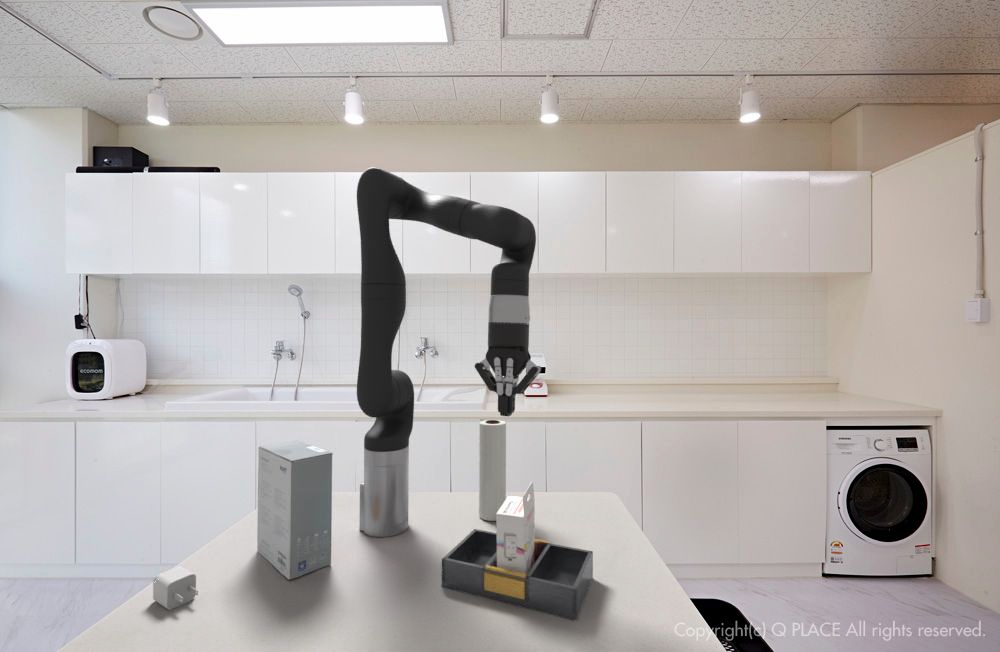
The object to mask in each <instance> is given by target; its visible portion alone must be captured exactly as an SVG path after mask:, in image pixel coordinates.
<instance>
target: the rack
mask: <svg viewBox="0 0 1000 652" xmlns="http://www.w3.org/2000/svg"><path fill="white" fill-rule="evenodd" d="M593 556H594V551H592V550H587V549H582V548H578V547H577V548H576V547H570V546H566V545H560V544H556V543H550V542H549V540H543V539H537V538H534V565H533V567H532V568H531V570H530V571H529V573H528V574H525V573H521V572H516V571H512V570H507V569H503V568H498V567H497V532H492V531H487V530H483V529H476V528H474V529H473V530H471V532H470V533H468V534H467V535H466V536H465V538H463V539H462V540H460V542H459V543H458V544H457V545H456V546H454V547H453V548H452V549H451V550H450V551H449V552H448V553H447V554H446V555H444V556H443V557H442V559H441V588H446V589H449V590H454V591H458V592H460V593H465V594H469V595H473V596H477V597H479V598H485V599H489V600H492V601H497V602H500V603H505V604H508V605H512V606H516V607H517V606H518V607H520V608H524V609H528V610H532V611H536V612H540V613H545V614H548V615H552V616H556V617H559V616H560V617H561V618H563V619H564V618H565V619H568V620H573V621H575V620H576V621H577V620H578V618H579V615H580V613H581V610H582V607H583V605H584V603H585V599H586V597H587V594H588V592H589V588H590V586H591V585H592V582H593V578H594V570H593V569H594V562H593V561H594V559H593V558H594V557H593ZM579 612H580V613H579Z"/></svg>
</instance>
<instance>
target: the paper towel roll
mask: <svg viewBox="0 0 1000 652" xmlns="http://www.w3.org/2000/svg"><path fill="white" fill-rule="evenodd" d="M478 424H479V425H478V426H479V427H478V431H479V432H478V434H479V435H478V441H479V443H478V447H479V448H478V454H479V455H478V459H479V460H478V516H479V518H480V519H481V520H484V521H489V522H496V513H497V512H498V510H499V509H500V507H501V506H502V505H503V503H504V502H505V500H506V499H507V497H506V495H507V493H506V492H507V422H506V421H504V420H499V419H489V418H488V419H486V418H485V419H483V418H480V420H479V423H478Z"/></svg>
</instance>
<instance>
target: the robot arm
mask: <svg viewBox="0 0 1000 652" xmlns="http://www.w3.org/2000/svg"><path fill="white" fill-rule="evenodd" d="M356 206H357V216H358V217H357V218H358V224H359V236H360V262H361V263H360V265H361V266H360V268H361V270H360V271H361V277H360V308H361V309H360V311H361V312H360V313H361V314H360V315H361V316H360V317H361V318H360V319H361V321H360V322H361V323H360V325H361V326H360V351H359V362H358V369H357V370H358V372H357V378H356V379H357V381H356V399H357V403H358V406H359V408H360V410H361V411H362V413H363V414H365V415H366V416H368V417H370V418H375V421H374V423H373V425H372V426H371V427H370V429H369V430H368V431H367V432H366V433H365V435H364V437H363V438H364V439H363V482H361V483H360V484H359V530H361V531H363V532H364V534H366V535H367V536H370V537H373V538H386V537H393V536H397V535H399V534H402V533H404V532H405V531H407V530H408V528H409V501H410V500H409V491H410V490H409V489H410V488H409V484H410V482H409V477H410V476H409V475H410V474H409V473H410V472H409V471H410V470H409V469H410V465H409V464H410V463H409V461H410V460H409V459H410V457H409V456H410V436H411V434H412V432H413V428H414V411H415V390H414V389H415V388H414V384H413V381H412V379H411V378H410V376H409V375H408V374H407V373H406V372H404V371H402V370H401V369H399V370H398V369H392V367H393V366H392V364H393V363H392V361H393V360H392V356H393V355H392V353H393V346H394V342H395V340H396V337H397V335H398V332H399V329H400V326H401V324H402V322H403V319H404V317H405V313H406V307H407V281H406V274H405V271H404V268H403V266H402V263H401V260H400V259H399V256H398V254H397V251H396V249H395V246H394V245H393V241H392V237H391V231H390V220H402V221H412V222H413V221H414V222H419V223H424V224H428V225H431V226H433V227H435V228H437V229H440V230H441V231H445V232H448V233H450V234H453V235H456V236H460V237H463V238H466V239H469V240H478V241H480V242H483V243H486V244H488V245H490V246H491V245H492V247H493V246H494V247H496V248H499V249H501V257H500V261H499V262H500V263H498V264H495V265H494V266H493V267H492V270H491V274H490V275H491V276H490V297H489V299H490V300H489V305H488V326H487V347H488V348H487V351H486V353H485V358H483V359H482V360H481V361H480V362H476V363H474V369H475V370H476V372H477V373H478V375H479V376H480V378H481V379H482V380H483V383H484V385H486V387H487V389H488V390H489V391H491V392H494V393H496V395H497V411H498V413H499V414H500V416H501V417H510V416H512V414H514V412H515V410H516V395H517V394H520V393H523V392H525V391H526V390H527V389H528V388H529V387H530V385H531V384H532V383H533V382H534V380H535V379H536V378H537V376H538V375H539V374H540V373H541V372H542V367H541V366H540V365H536V363H534V362H533V361H532V360H531V358H532V357H531V353H530V352H529V348H530V347H529V345H530V343H529V342H530V321H531V314H530V311H531V310H530V299H529V298H530V294H529V293H530V271H531V267H532V264H533V259H534V255H535V250H536V244H537V243H536V242H537V233H536V229H535V226H534V224H533V222H532V221H531V220H530V219H529V218H527V217H526V216H525V215H524V214H523V215H522V214H521V213H519V212H517V211H515V210H513V209H510V208H507V207H504V206H498V205H494V204H493V205H492V204H483V203H481V202H478V201H474V200H470V199H467V198H463V197H459V196H454V195H447V194H446V195H444V194H442V195H441V194H434V193H429V192H427V191H424V190H423V189H421V188H418V187H416V186H414V185H413V184H411V183H409V182H408V181H406V180H404V179H403V178H402V177H400V176H398V175H395V174H393V173H392V172H389V171H386V170H385V169H382V168H380V167H379V168H378V167H375V166H374V167H373V166H371V167H369V168H366V170H364V171H363V172H362V173H361V174H360V177H359V179H358V183H357V187H356ZM490 369H491V370H492V371H493V373H494V375H493V373H492V372H491V370H490ZM523 371H525V373H526V374H525V375H524V377H523V378H522V379H521V380H520V375H521V374H522V372H523ZM519 381H520V382H519Z"/></svg>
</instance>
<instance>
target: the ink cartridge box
mask: <svg viewBox="0 0 1000 652" xmlns="http://www.w3.org/2000/svg"><path fill="white" fill-rule="evenodd" d="M534 488H535V487H534V483H533V481H531V482H530V484H529V485H528V487H527V488H526V490H525V492H524V494H523V495H522V496H517V495H516V496H515V495H514V496H513V495H508V496H507V497H506V500H505V502H504V503H503V505H502V506H501V507H500V509H499V510H498V512H497V513H496V521H495V525H496V533H497V567H498V568H503V569H507V570H512V571H516V572H521V573H525V574H528V573H529V571H530V570H531V568H532V567H533V565H534V539H535V511H536V509H535V490H534Z"/></svg>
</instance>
